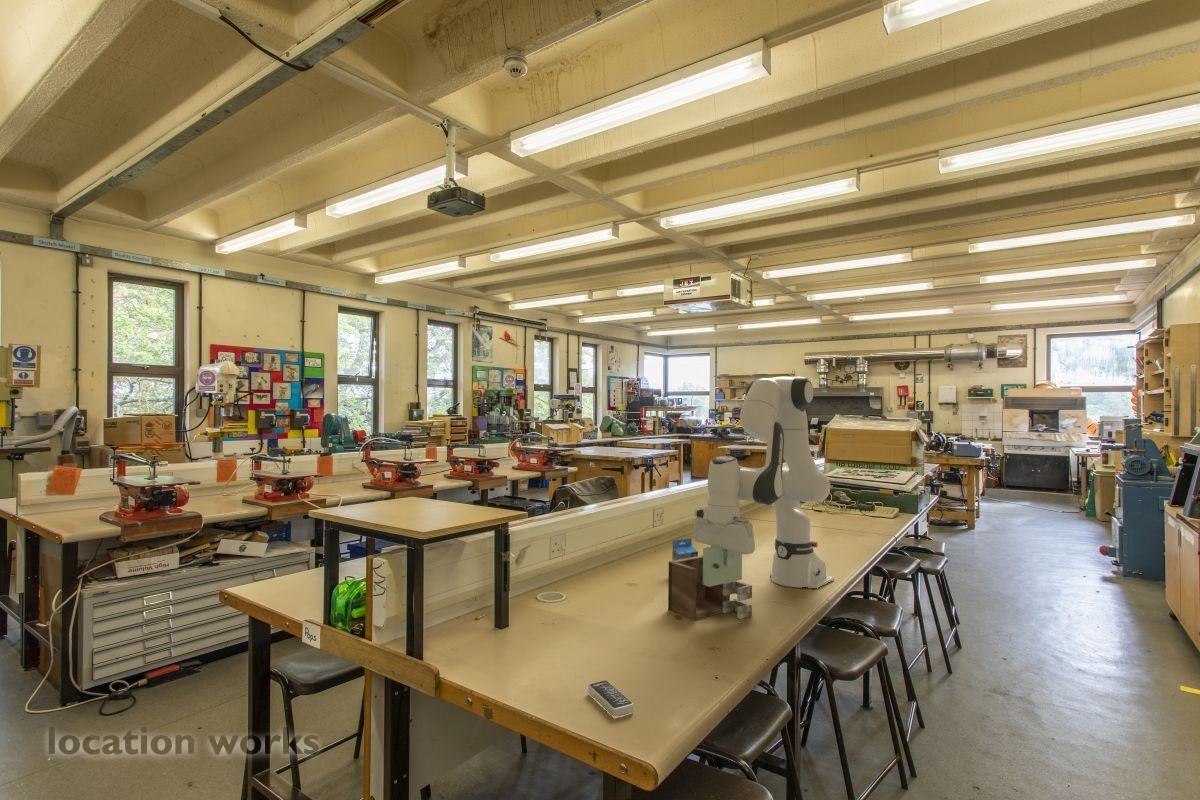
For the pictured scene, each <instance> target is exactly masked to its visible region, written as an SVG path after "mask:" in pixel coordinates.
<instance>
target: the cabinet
mask: <svg viewBox="0 0 1200 800" xmlns="http://www.w3.org/2000/svg"><path fill="white" fill-rule="evenodd" d="M667 584H668V587H667V589H668V590H667V591H668V598H667V599H668V601H667V603H668V605H667V608H668V609H667V610H668V611H670V612H672V613H675V614H677V615H679V616H681V617H684V618H685V619H688V620H690V621H695V620H699V619H702V618H706V617H710V616H714V615H717V614H721V613H723V614H729V613H732V612H736V619H739V620H741V619H745V618H749V617H752V616H753V610H752V609H753V605H752V604H750V603H747V602H745V601H746V600H751V599H753V585H751V584H749V583H746V582H742V581H740V580H737V581H733V582H728V583H724V584H720V585H715V586H711V587H708V586H706V585H703V554H702V555H698V556H697V557H691V558H686V559H680V560H675V561H672V560H670V561H668V583H667ZM735 594H736V595H737V598H733V599H731V595H735Z"/></svg>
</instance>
